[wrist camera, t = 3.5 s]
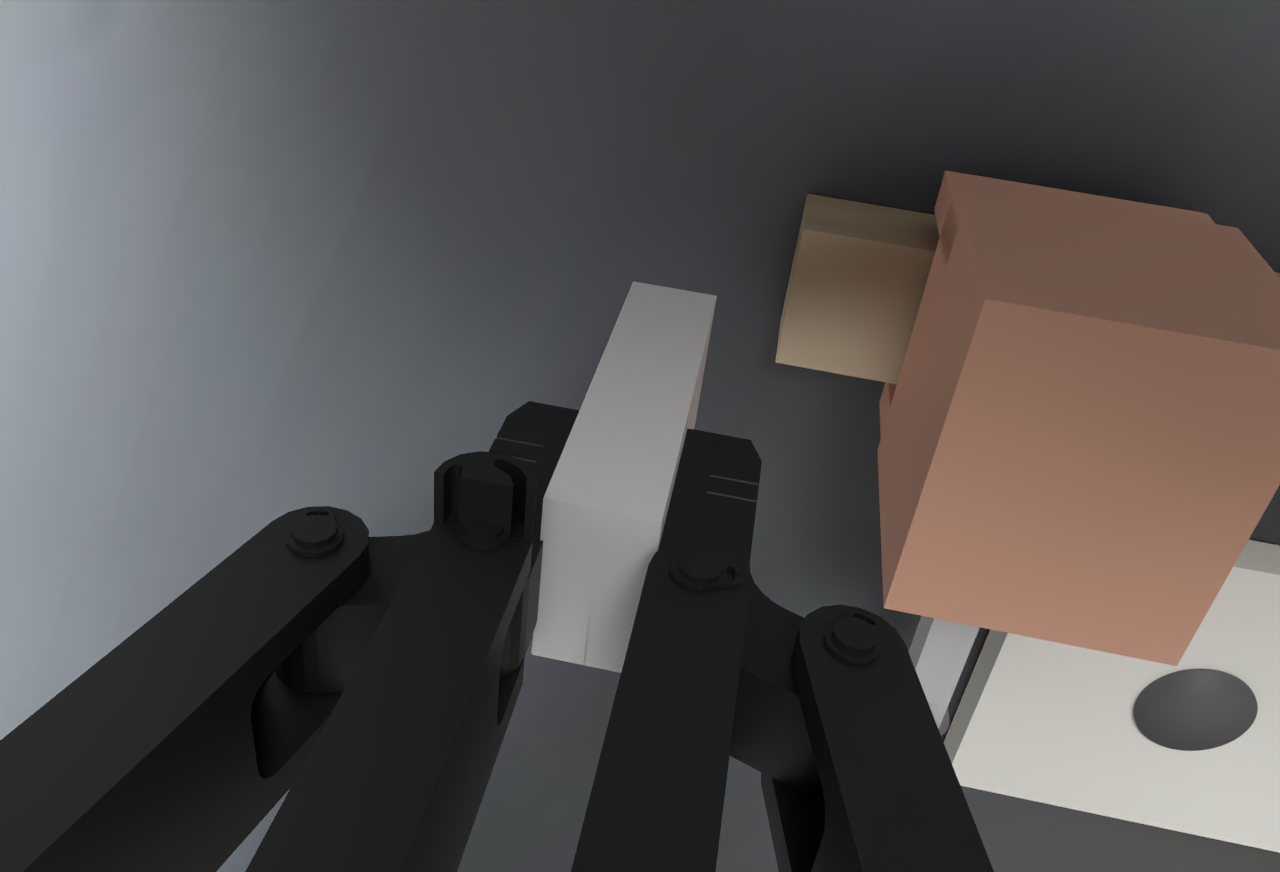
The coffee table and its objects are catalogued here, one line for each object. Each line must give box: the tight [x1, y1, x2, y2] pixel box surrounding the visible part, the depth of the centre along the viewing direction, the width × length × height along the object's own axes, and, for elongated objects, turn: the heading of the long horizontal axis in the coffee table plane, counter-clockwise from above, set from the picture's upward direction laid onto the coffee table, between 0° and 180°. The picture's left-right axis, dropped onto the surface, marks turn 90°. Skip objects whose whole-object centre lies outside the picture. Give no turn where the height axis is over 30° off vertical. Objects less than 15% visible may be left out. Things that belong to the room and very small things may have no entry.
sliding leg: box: [878, 170, 1280, 736], centre depth 21 cm, size 13×5×6 cm, turn 173°
